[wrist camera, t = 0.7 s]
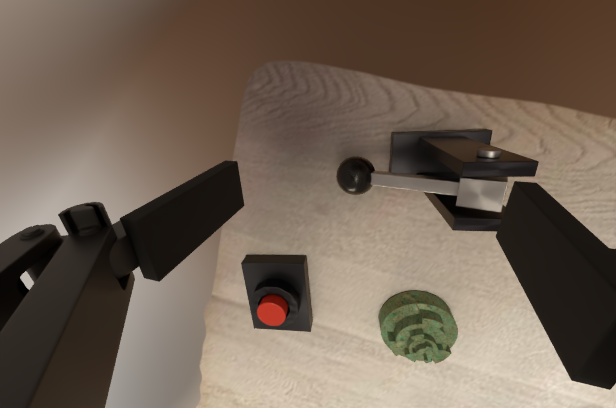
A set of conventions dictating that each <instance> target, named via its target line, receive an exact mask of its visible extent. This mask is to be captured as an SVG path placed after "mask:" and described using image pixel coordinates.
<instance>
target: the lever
mask: <svg viewBox="0 0 616 408" xmlns="http://www.w3.org/2000/svg"><path fill="white" fill-rule="evenodd" d="M337 182H338V184H339V186H340V187H341V189H342V190H343V191H345V192H346V193H348V194H352V195H360V194H363V193H365V192H367V191H368V190H369V189H370V188H371V187H372V186H373V185H376V186H384V187H392V188H399V189H407V190H415V191H423V192H430V193H438V194H446V195H454V196H457V201H456V206H460V207H467V208H474V209H481V210H487V211H494V212H501V211H502V207H503V202H504V198H505V194H506V189H507V185H508V177H460V179H454V178H444V177H434V176H424V175H414V174H403V173H393V172H383V171H375V169H374V166H373V165H372V163H371V162H370V161H369V160H367V159H366V158H363V157H359V156H354V157H350V158H347V159H346V160H344V161H343V162H342V163H341V164H340V166H339V168H338V170H337Z"/></svg>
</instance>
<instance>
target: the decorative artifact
mask: <svg viewBox="0 0 616 408" xmlns="http://www.w3.org/2000/svg"><path fill="white" fill-rule="evenodd" d="M379 319H380V328H381V335H382V338H383V341H384V342H385V344H386V345H387V346H388V347H389V348H390V349H391V350H392V352H393V353H394V354H395V355H396V356H397V355H401V356H404V357H407V358H408V359H410V360H411V361H414V362H415V361H416V360H419V361H425V363H428V362H431V361H432V359H433V361H434V362H435V363H438V362H441V361H443V360H444V359H446V358H447V357H448V356H449V355H450V354H451V351H450V348H451V347H452V346H453V345H454V343H455V341H456V339H457V335H458V328H457V325H456V322H455V320H454V318H453V316H452V314H451V312H450V309H449V307H448V306H447V304H446V303H445V302H444V301H443V300H442V299H440V298H439V297H437V296H435V295H433V294H430V293H427V292H423V291H407V292H403V293H400V294H397V295H395V296H393V297H391V298H390V299H389V300H388V301H387V302H386V303H385V304H384V305H383V307H382V308H381V311H380V315H379Z"/></svg>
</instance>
